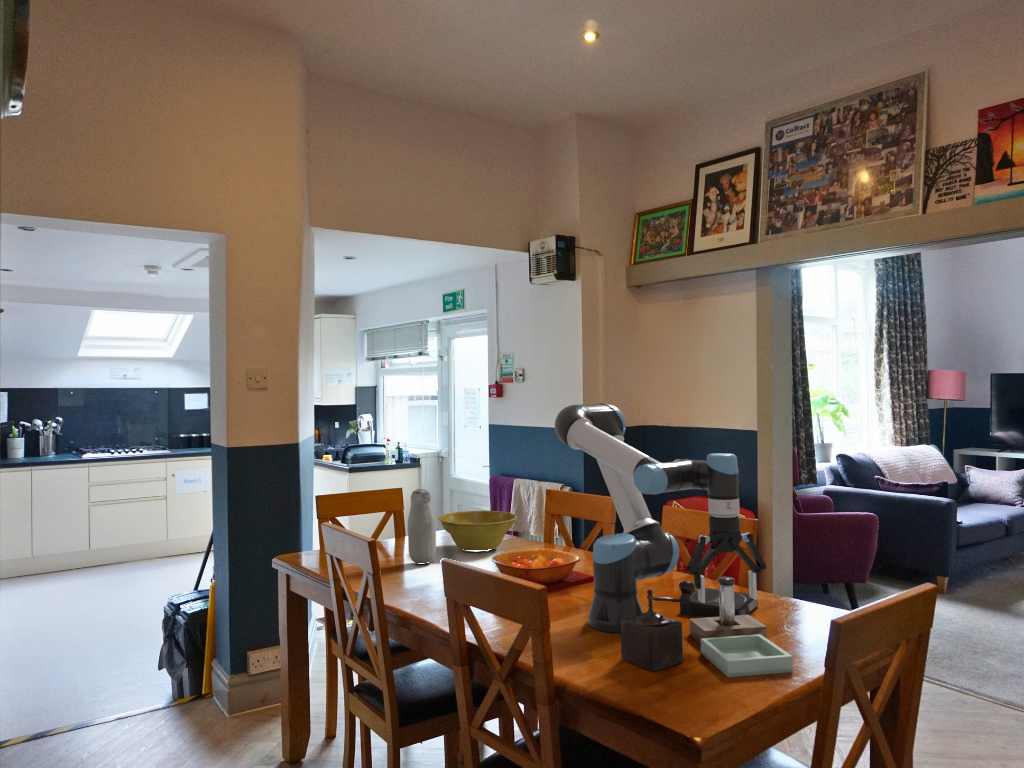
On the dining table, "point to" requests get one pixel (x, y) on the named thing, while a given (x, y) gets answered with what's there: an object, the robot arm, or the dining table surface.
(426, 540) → the grey bottle
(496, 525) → the planter bowl
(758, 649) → the tray
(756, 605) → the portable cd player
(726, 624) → the clear capped cylinder
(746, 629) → the block
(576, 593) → the dining table surface
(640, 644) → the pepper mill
